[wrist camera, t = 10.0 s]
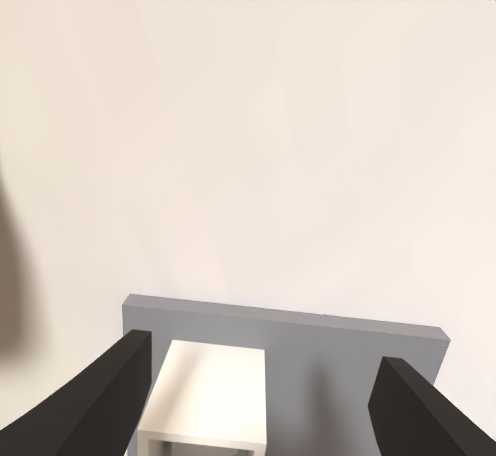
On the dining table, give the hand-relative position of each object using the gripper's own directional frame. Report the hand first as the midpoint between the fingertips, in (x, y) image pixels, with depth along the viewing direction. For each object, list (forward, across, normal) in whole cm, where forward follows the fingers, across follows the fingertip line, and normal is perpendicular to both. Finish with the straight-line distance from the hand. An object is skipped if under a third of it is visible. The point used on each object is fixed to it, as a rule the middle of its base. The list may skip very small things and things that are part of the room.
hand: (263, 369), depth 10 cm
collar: (+8, +2, +9) cm, 12 cm away
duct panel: (+9, -2, +12) cm, 15 cm away
